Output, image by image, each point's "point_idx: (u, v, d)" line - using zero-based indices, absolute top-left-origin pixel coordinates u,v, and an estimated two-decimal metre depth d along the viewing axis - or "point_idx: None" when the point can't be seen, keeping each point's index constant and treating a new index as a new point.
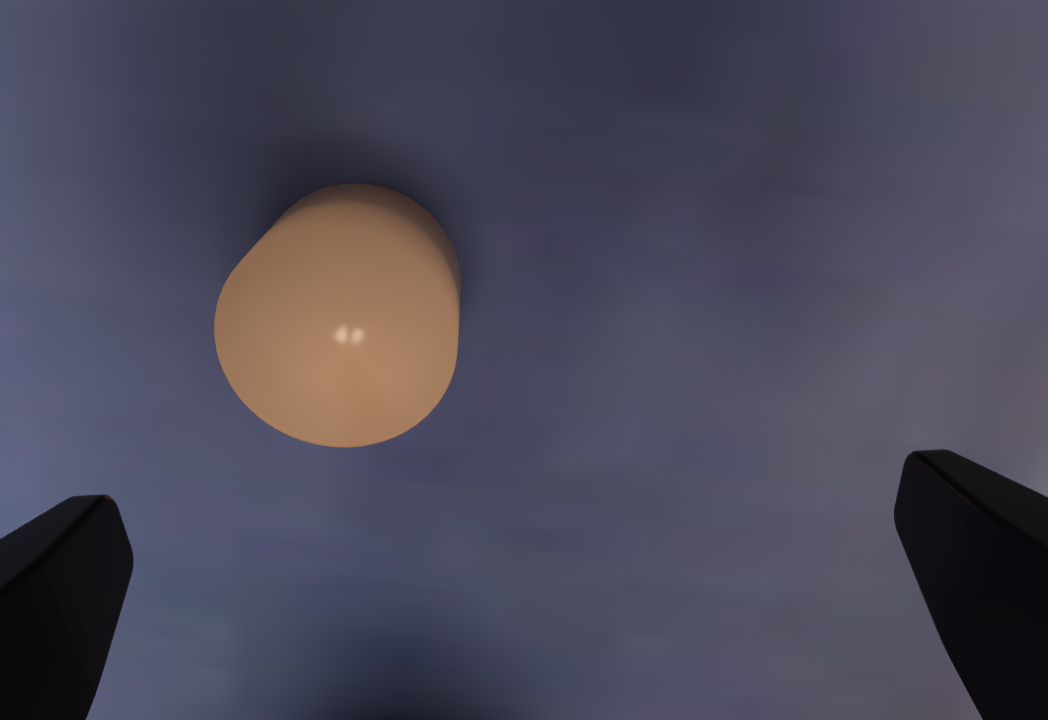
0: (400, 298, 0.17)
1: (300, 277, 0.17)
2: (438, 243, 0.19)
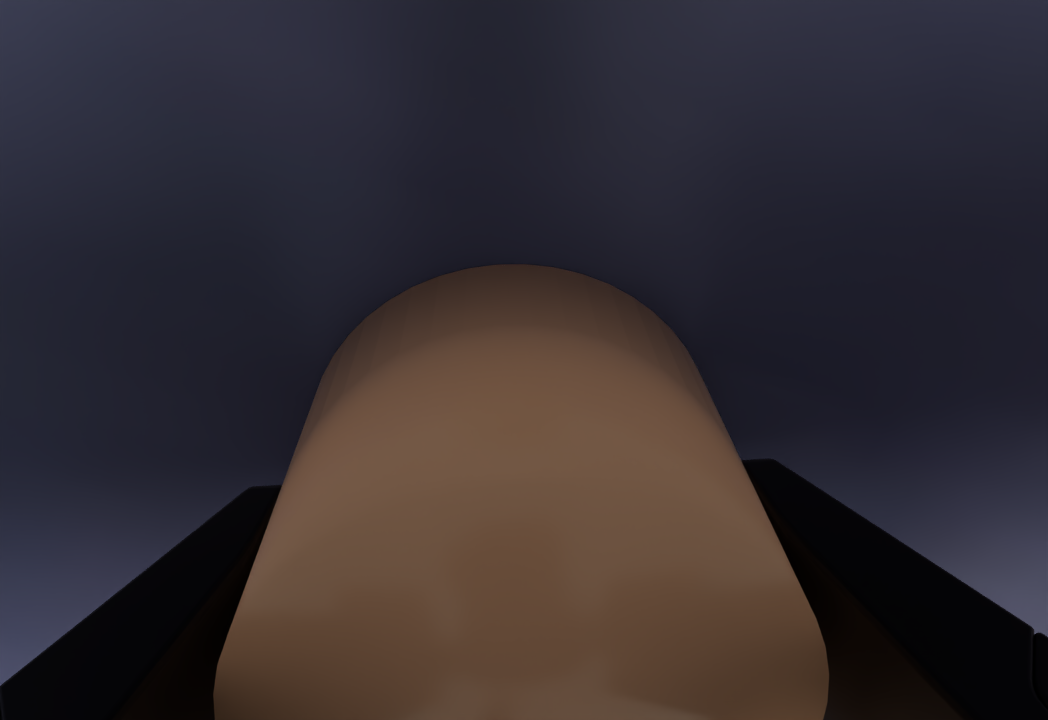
0: (715, 661, 0.07)
1: (481, 588, 0.06)
2: None
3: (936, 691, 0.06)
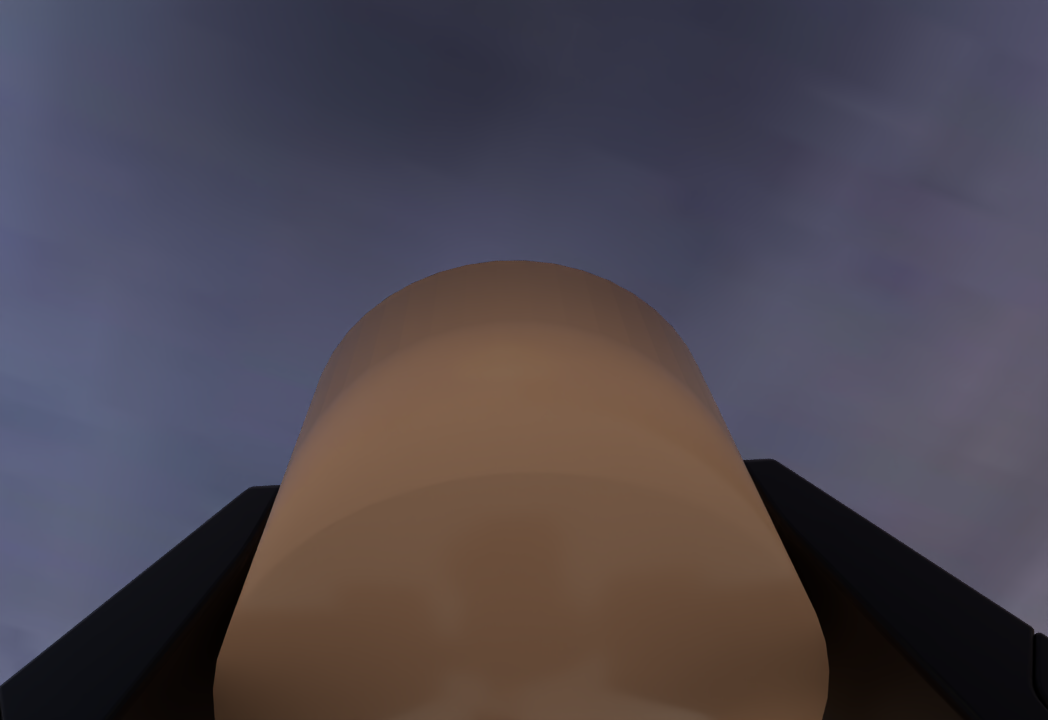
0: (715, 658, 0.07)
1: (481, 584, 0.06)
2: None
3: (936, 691, 0.06)
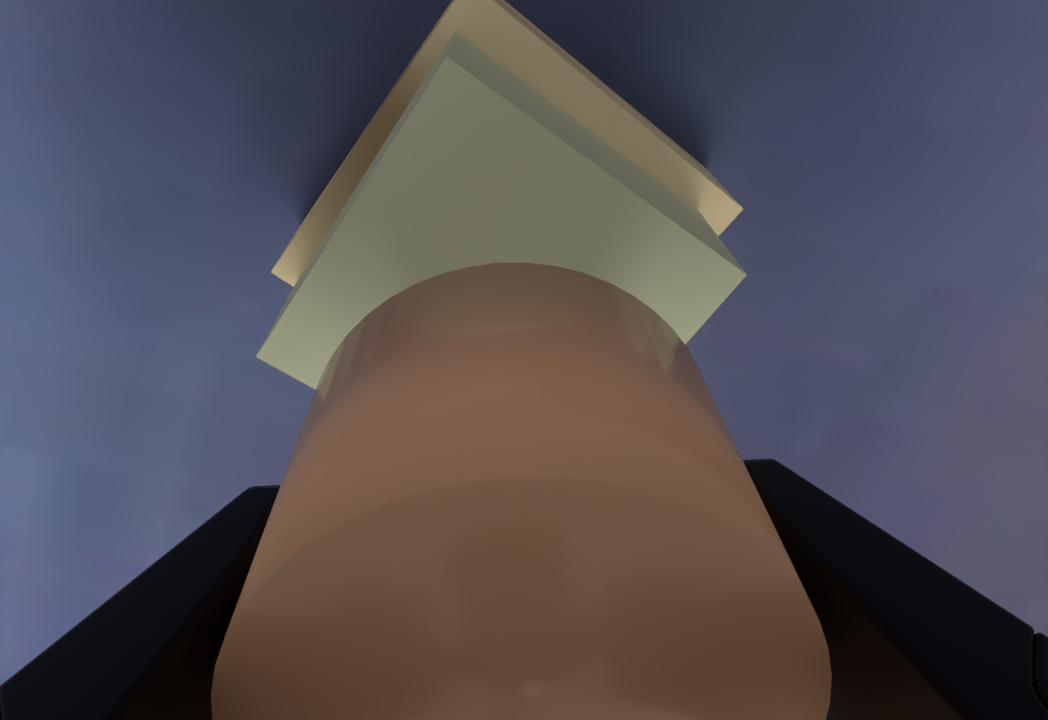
0: (718, 664, 0.06)
1: (481, 588, 0.06)
2: (739, 453, 0.08)
3: (937, 691, 0.06)
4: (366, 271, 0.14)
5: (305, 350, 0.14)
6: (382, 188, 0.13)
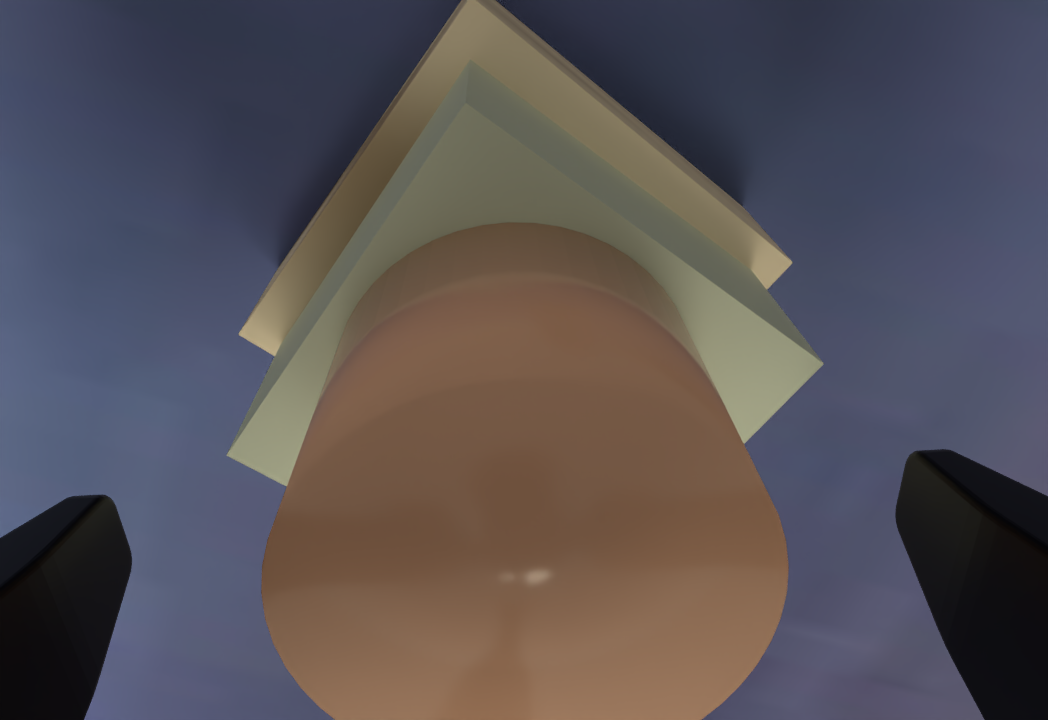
0: (692, 552, 0.08)
1: (497, 475, 0.07)
2: None
3: None
4: None
5: (286, 448, 0.12)
6: (382, 260, 0.10)
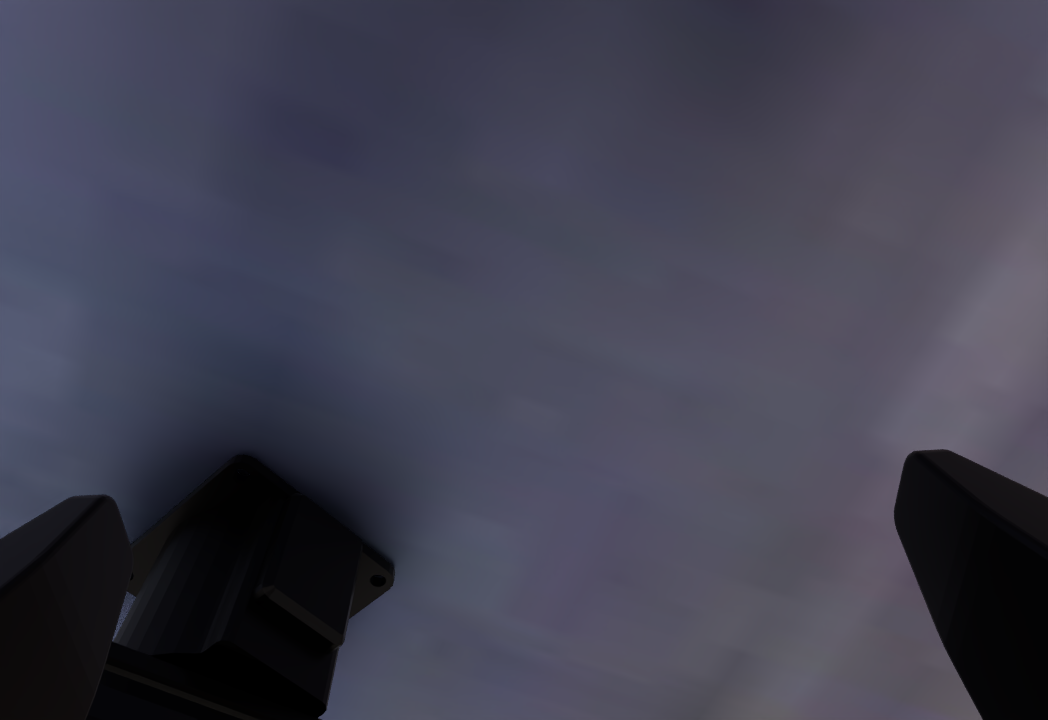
0: None
1: None
2: None
3: None
4: None
5: None
6: None
